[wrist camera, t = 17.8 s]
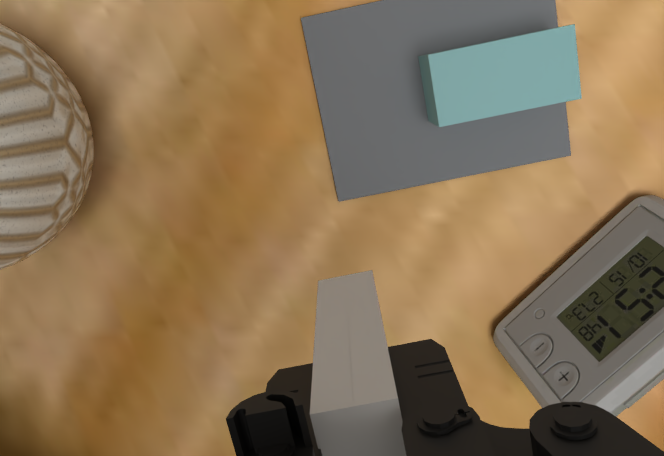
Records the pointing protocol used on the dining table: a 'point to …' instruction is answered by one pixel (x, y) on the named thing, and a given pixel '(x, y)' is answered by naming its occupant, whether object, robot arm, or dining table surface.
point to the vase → (38, 148)
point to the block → (501, 76)
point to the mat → (419, 93)
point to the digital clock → (596, 317)
